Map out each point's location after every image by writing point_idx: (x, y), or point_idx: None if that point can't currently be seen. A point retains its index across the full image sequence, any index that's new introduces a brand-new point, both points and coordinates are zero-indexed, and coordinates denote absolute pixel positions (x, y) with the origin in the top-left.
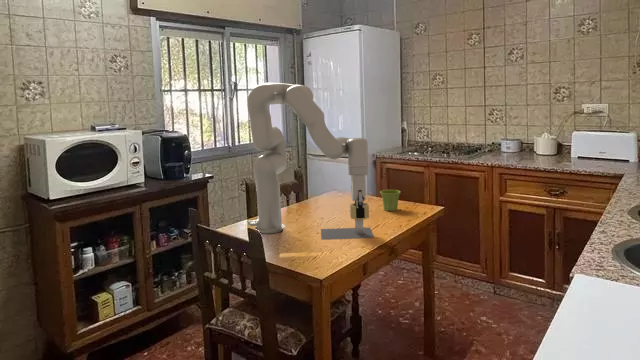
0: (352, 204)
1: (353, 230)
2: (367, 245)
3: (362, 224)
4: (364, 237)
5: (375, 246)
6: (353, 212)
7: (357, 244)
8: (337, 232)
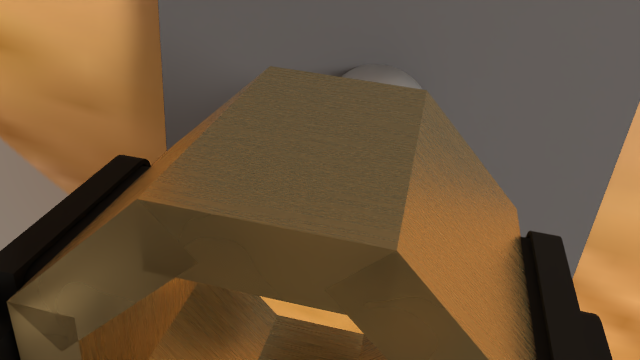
0: (312, 301)
1: (509, 67)
2: (53, 97)
3: None
4: (186, 123)
5: (30, 157)
6: (156, 166)
7: (79, 5)
8: None
